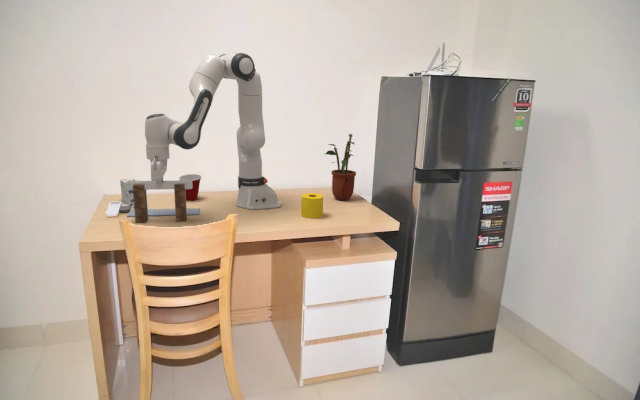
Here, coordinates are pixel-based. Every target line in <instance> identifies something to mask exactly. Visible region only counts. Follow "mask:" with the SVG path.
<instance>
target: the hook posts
mask: <svg viewBox="0 0 640 400" xmlns="http://www.w3.org/2000/svg"><path fill="white" fill-rule="evenodd" d="M173 190H174V191H173V192H174V209H175V213H176V216H175V222H176V223H187V218H188V216H187V209H186V208H187V200H186V189H185V186H184V185H174V189H173ZM133 196H134V205H133V207H134V210H135V217H134V221H135V224H147V222H148V221H149V217H148V209H149V208H148V199H147V198H148V195H147V190H144V185H133Z"/></svg>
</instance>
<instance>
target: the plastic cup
mask: <svg viewBox="0 0 640 400" xmlns="http://www.w3.org/2000/svg"><path fill="white" fill-rule="evenodd" d="M178 179H179V181H190V180H192V186H193V187H192V189H186V202H187V201H189V202H190V201H191V202H193V201H197V200H198V196H199V190H200V183H201V179H202V175H200V174H196V173H194V174H193V173H192V174H191V173H190V174H189V173H188V174H183V175H181V176H179V177H178Z"/></svg>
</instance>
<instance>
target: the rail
mask: <svg viewBox="0 0 640 400" xmlns="http://www.w3.org/2000/svg"><path fill="white" fill-rule="evenodd" d="M125 184H126V190H133V185H144V190H146V191H147V190H174V185H184V186H185V189H192V187H193V186H192V180H190V181H180V180H163V181H161V184H162V187H161V188H160V189H158V188H157V184H156V181H152V180H138V181H126V183H125Z"/></svg>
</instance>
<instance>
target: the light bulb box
mask: <svg viewBox="0 0 640 400" xmlns="http://www.w3.org/2000/svg"><path fill="white" fill-rule="evenodd" d="M126 181H139V180H138V179H136V178H134V177H133V178H132V177H131V178H124V179H120V180H119V182H120V183H119V184H120V191H121V202H124V203H125V204H127V203H128V204H132V205H131V206H134V196H133V190H126V184H125V183H126ZM128 204H127V205H128Z"/></svg>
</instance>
